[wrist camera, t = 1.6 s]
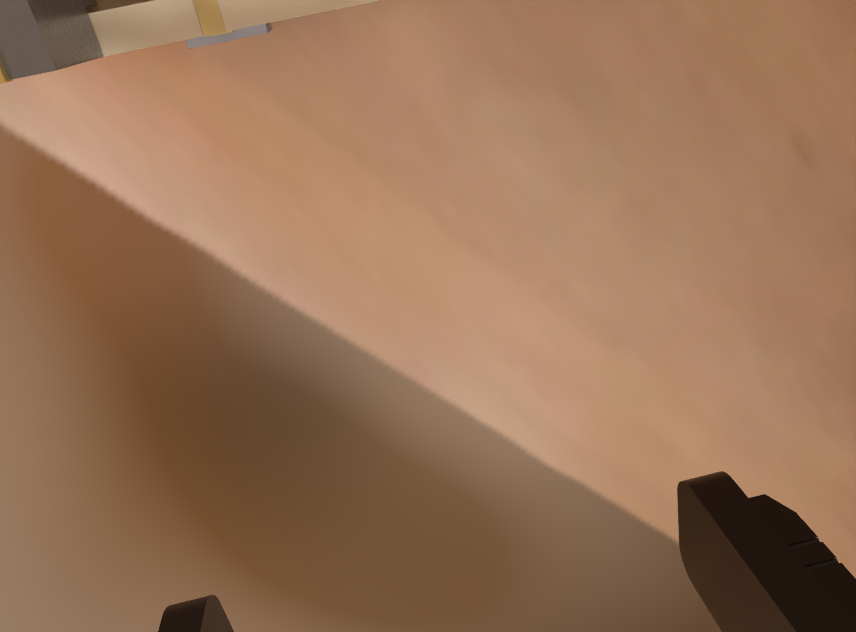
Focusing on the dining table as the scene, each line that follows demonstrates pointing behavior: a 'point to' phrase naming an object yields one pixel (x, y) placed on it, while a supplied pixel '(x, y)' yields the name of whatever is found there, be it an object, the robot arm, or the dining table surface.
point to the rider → (45, 36)
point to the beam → (193, 20)
